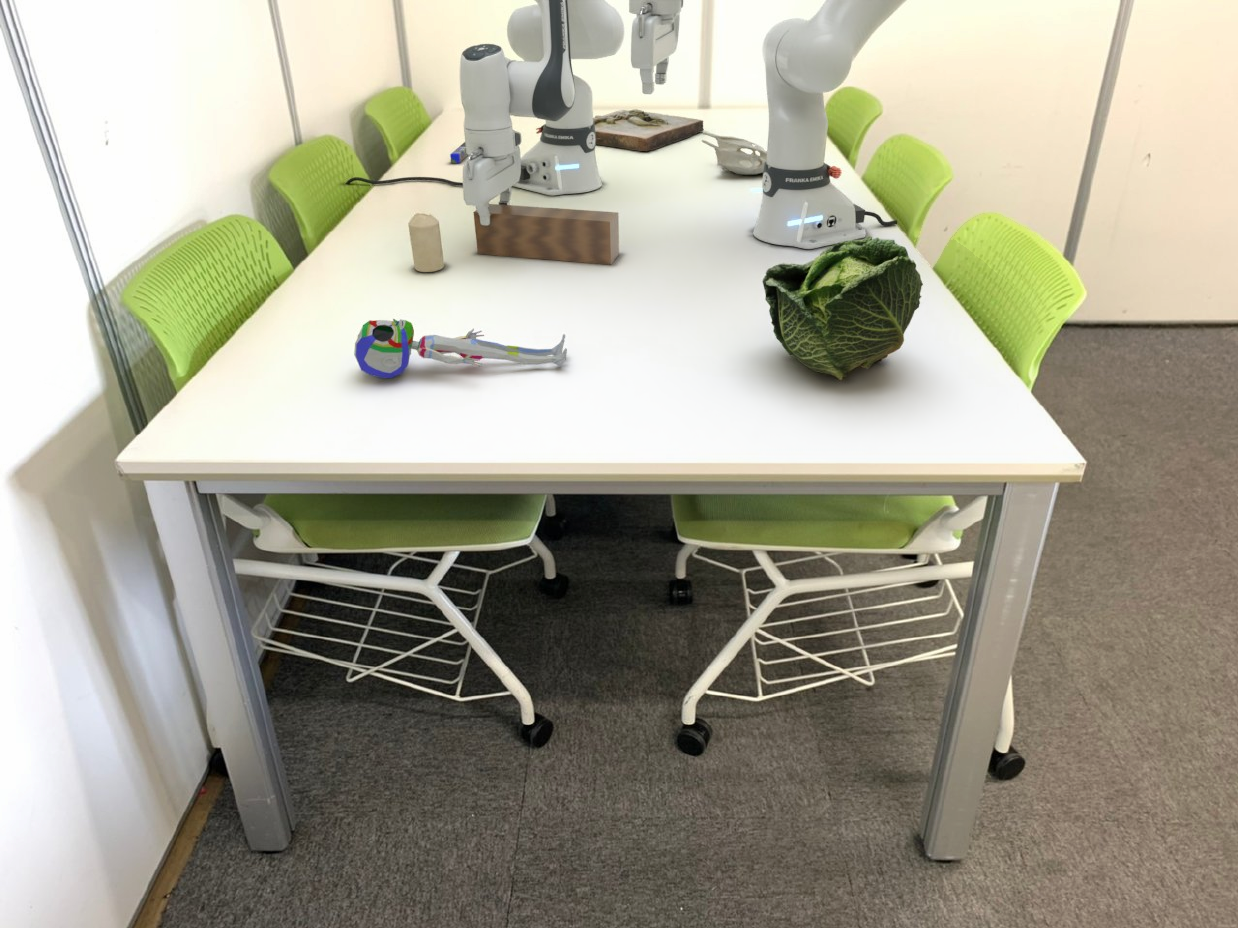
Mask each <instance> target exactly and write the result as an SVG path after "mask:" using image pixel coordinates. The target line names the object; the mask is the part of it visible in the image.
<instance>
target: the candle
mask: <svg viewBox="0 0 1238 928" xmlns="http://www.w3.org/2000/svg"><path fill="white" fill-rule="evenodd" d="M407 225H408V232H409V238H410V246H411V253H412V260H413V266H414V269H415V270H416V271H417V272H421V273H432V272H437V271H440V270H442V269H443V268H444V267H445V261H444V260H445V259H444V253H443V252H444V251H443V245H442V236H441V227H440V221H439V219H438V218H436V217H435V216H433V215H432V214H428V213H419V212H416V213H415V214H414V215H413V216H412V218H411V219H410V220H409V222H408V223H407Z"/></svg>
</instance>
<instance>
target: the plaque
mask: <svg viewBox="0 0 1238 928" xmlns="http://www.w3.org/2000/svg"><path fill="white" fill-rule="evenodd" d="M593 123H594V124H595V133H596V144H595V145H597V146H598V145H599V146H607V147H612V148H620V149H625V150H632V151H640V152H648V151H654V150H656V149H659V148H662V147H663V146H664V147H665V146H667V145H670V144H672V143H676V142H680V141H682V140H684V139H687V138H691V137H692V136H694V135H696V134H698V133H700V132H705V131H704V130H705V129H704V120H702V119H698V118H693V117H685V116H679V115H669V114H663V113H659V112H650V111H644V110H642V109H637V108H636V109H635V108H634V109H630V110H629V109H620V110H616V111H613V112H610V113H608V114H602V115H594V117H593Z"/></svg>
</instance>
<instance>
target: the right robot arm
mask: <svg viewBox="0 0 1238 928" xmlns="http://www.w3.org/2000/svg"><path fill="white" fill-rule="evenodd" d="M905 2H907V0H825V1H824V3H823V4H822V5H821V7H820V8H819V10H818V11H817V12H816V13H815V14H814V15H813V16H812V17H811V18H810V19H808V20H807V19H804V18H799V17H794V18H793V17H792V18H788V19H784V20H782V21H780V22H778V23H776V24H774V25H773V26H772V27H771V28H770V29H769V30H768V32H767V33H766V34H765V36H764V39H763V42H762V48H761V53H762V59H763V62H764V69H765V70H764V71H765V82H766V83H765V84H766V85H765V86H766V97H767V110H768V133H767V147H766V148H767V149H766V151H767V161H766V162H765V163H764V171H763V173H762V184H761V185H762V187H761V188H759V187H758V188H750V193H751V194H753V193H762V197H761V204H760V209H759V213H758V217H757V220H756V223H755V226H754V229H753V231H752V234H753V236H754V237H755V238H756V239H758V240H759V241H762V242H765V243H768V244H772V245H778V246H785V247H787V246H788V247H795V248H800V249H805V250H813V249H817V248H822V247H827V246H831V245H832V246H833V245H835V244H837V243H838V242H844V241H848V240H860V239H865V238H866V235H867V232H866V229H865V227H864V226H863V225H861V224H862V223H865V216H869V217H872V218H875V219H876V220H877V222H878V223H879V224H880V225H881V226H884V227H890V226H892V225H893V226H894V225H897V224H898V220H896V219H895V220H894V219H893V220H890V221H885V220H883V218H882V217H881V216H880V215H879V214H877V213H876V212H874V211H873V212H872V211H867V210H866V209H864V208H862V207H860V206H859V205H858V204H855V203H853V201H852V200H851V199H850V198H849V197H848V196H847V195H846V194H844V193H843V192H842V191H841V190H840V189H839V188H838V187H836V186H835V185H834V184H833V183H832V182H831V177H832V178H833V179H839V178H840V177H841V176H842V169H841V168H840V167H837V166H836V165H833V166H831V165H829V164H827V163H825V156H826V148H827V137H828V128H829V120H828V119H829V118H828V115H827V112H826V107H825V100H824V93H829V92H832V91H834V90H836V89H837V88H839V87H840V86H841V85H842V84H843V83H844V82H845V80H846V79H847V77H849V74H850V71H851V68H852V63H853V61H854V60H855V58H857V56H858V55H859V53H860V52H861V51H862V49H863V48H864V46H865V45H866V44H867V42H868V41H869V39H870V38H871V37H872V35H874V33H876V31H877V30H878V29H879V28H880V27H881V26H882V25H883V24H884V23H885V22H886V21H887V20H888V19H889V18H890V17H891V16H892V15H893V14H894V13H895V12H896V11H897V10H898V9H899V8H900V7H901V6H903V4H905ZM682 8H684V0H628V12H629V14H633V15H636V17H634V19H633V20H632V23H631V24H632V25H631V35H630V36H631V37H630V39H631V40H630V63H631V68H633V69H639V76H640V80H641V90H642V91H641V92H642V94H644V95H652V94H654V92H655V85H659V86H661V85H662V86H663V85H664V84H666V83H667V72H668V67H669V62H670V56H671V55H674V54H675V53H676V51H677V47H678V41H679V31H680V20H681V12H682ZM654 72H655V73H654Z"/></svg>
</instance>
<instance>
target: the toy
mask: <svg viewBox="0 0 1238 928" xmlns="http://www.w3.org/2000/svg"><path fill="white" fill-rule="evenodd" d="M474 331H475V328H472V329H471V330H469V331H468V332H467V333H466V334H465V335H463V336H458V337H449V336H448V337H447V336H442V335H439V334H428V335H423V336H421V338H420V339H419V341H417V340H414V336H415V329H414V326H413V324H412V322H410V321H408V320H407V319H399V320H397V319H395V318H392V320H387V319H379V320H368V321H367V322H365V323H364V324H362V326H361V329H360V331H359V333H358V334H357V338H356V340H355V342H354V354H353V355H354V357H355V359H356V362H357V364H358V366H359V369H360V370H361V372H364V373H366V374H367V375H370V376H373V377H377V378H382V379H383V378H384V379H392V378H394V377H396V376H398V375H400V374H401V375H402V374H403V372H404V371H405V370H406V368H407V367H408V366H409V364H410V357H411V355H412V350H415V351H417V353H418V356H419V357H421V358H422V359H430V360H434V361H438V362H442V363H444V364H449V365H458V364H459V365H461V364H465V365H471V366H477V367H479V368H480V367H481V366H482V365H483V363H482V362H478V361H480V360H482V359H487V360H488V359H489V360H503V361H509V362H514V363H517V364H520V365H528V366H529V365H542V364H550V363H553V364H555V365H557V366H559V367H562V366H563V364H564V362H565V361H566V360H567V357H568V355H567V353H568V348H566V347H565V348H564V345H565V340H566V334H565V333H563V334H562V338H561V340H560V341H559V343H558V344H556V345H555V346H554V347H552V348H533V347H532V348H531V347H523V346H518V345H517V346H516V345H504V344H501V343H498V342H494V341H488V340H482V339H478V338H479V337H480V338H481V337H485V334H480V333H482V332H483V331H482V330H479V331H476V332H474ZM563 349H564V350H563ZM453 353H455V354H457V355H459V357H458V356H455V355H448V354H453ZM445 354H447V355H445Z"/></svg>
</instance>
